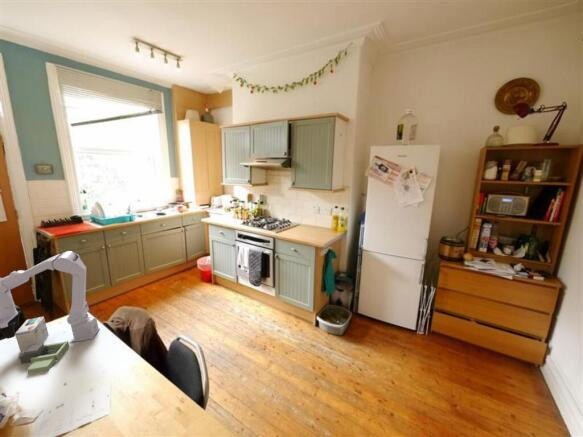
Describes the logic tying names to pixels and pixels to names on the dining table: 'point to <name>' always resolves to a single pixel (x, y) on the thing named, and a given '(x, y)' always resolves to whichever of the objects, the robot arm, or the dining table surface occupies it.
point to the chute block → (33, 353)
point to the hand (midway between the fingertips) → (13, 332)
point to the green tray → (48, 357)
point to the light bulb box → (31, 333)
